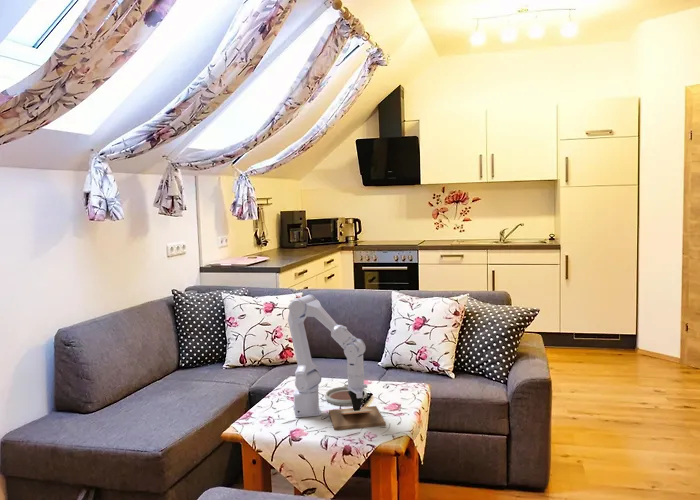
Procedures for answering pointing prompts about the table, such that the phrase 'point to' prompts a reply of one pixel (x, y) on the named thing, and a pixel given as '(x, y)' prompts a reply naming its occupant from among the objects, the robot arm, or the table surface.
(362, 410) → the tile
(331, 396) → the frying pan
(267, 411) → the table surface
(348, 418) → the board
